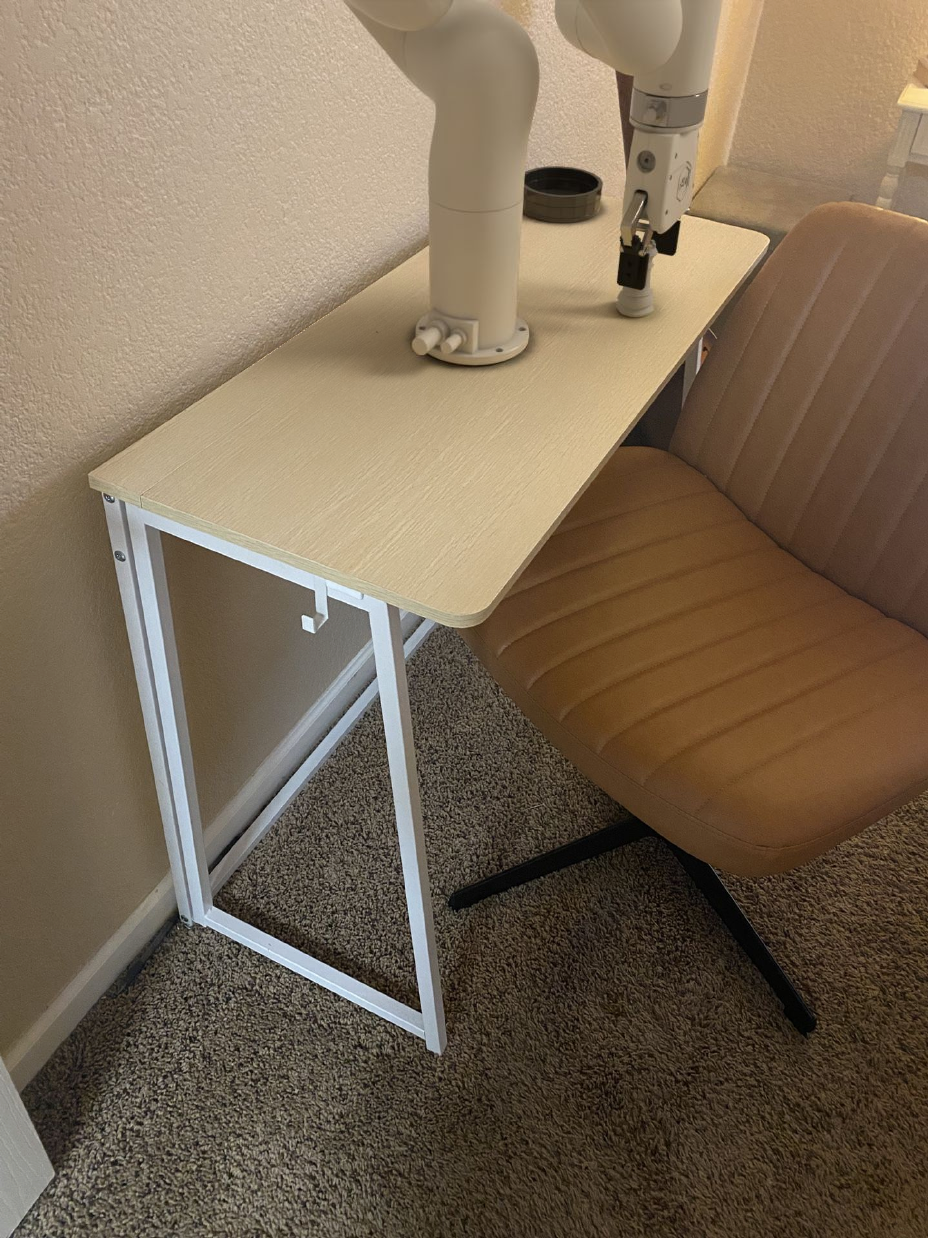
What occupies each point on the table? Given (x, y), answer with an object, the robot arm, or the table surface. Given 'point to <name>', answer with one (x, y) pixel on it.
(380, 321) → the table surface
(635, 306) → the rook chess piece
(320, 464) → the table surface
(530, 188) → the pan
